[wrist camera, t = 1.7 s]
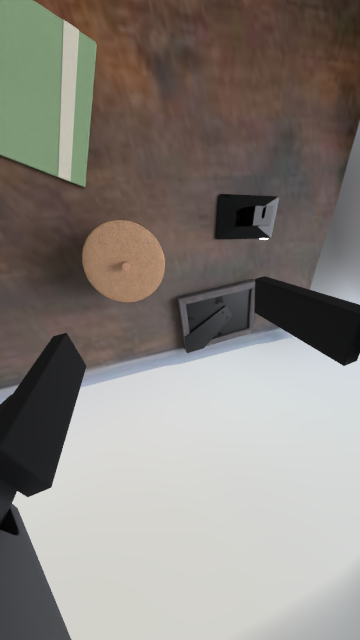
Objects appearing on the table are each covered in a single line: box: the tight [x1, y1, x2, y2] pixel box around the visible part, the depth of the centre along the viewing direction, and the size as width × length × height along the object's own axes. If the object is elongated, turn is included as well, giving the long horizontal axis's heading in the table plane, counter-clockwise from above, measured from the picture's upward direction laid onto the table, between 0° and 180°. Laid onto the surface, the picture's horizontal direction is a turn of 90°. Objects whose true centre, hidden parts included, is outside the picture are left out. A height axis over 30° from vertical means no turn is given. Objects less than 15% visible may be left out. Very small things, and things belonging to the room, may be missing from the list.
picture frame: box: [177, 280, 255, 353], centre depth 40 cm, size 13×2×18 cm
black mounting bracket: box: [216, 194, 279, 240], centre depth 31 cm, size 12×7×5 cm, turn 90°
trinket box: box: [82, 220, 165, 302], centre depth 26 cm, size 11×11×9 cm
